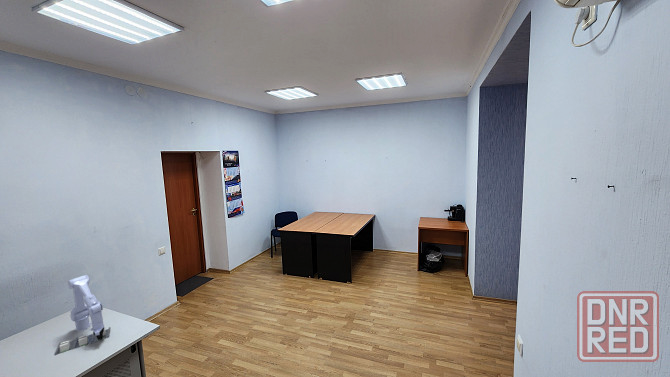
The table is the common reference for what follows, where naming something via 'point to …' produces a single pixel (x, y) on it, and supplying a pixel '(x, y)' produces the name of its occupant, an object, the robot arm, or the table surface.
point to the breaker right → (64, 346)
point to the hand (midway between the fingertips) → (100, 339)
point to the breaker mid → (83, 340)
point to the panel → (91, 339)
